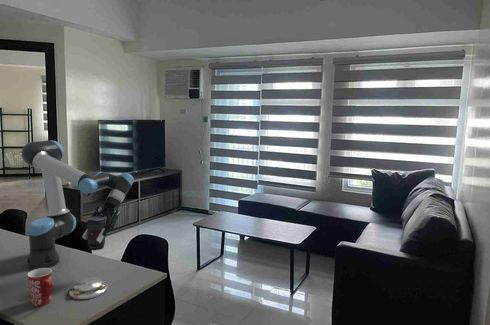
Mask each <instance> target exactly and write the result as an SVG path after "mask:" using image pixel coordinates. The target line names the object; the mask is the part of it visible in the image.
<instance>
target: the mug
mask: <svg viewBox="0 0 490 325" xmlns="http://www.w3.org/2000/svg"><path fill="white" fill-rule="evenodd" d="M52 272H53V270H52V269H51V268H50V267H48V268H40V269H32V270H31V271H29V272H28V273H27V279H28V285H29V294H30V300H31V306H33V307H43V306H46V305H48V304H50V302H51V301H52V293H53V288H54V285H53V282H52Z"/></svg>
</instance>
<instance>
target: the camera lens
mask: <svg viewBox="0 0 490 325" xmlns="http://www.w3.org/2000/svg"><path fill="white" fill-rule="evenodd" d="M105 218H106V217H101V216H94V217H91V216H90V217H88V218H87V221H86V222H87V223H86V224H87V225H86V228H87V230H88V232H87V236H88V238H87V245H88V248H89V250H91V251H99V250H103V249H104V247H105V243H106V236H104V238H103V239H102V241H101V243H99V242H98V241H97V238H98V236H99V234H100V233H101V231H102V229H103V228H104V227H105V225H106V219H105Z"/></svg>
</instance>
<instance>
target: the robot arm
mask: <svg viewBox="0 0 490 325" xmlns="http://www.w3.org/2000/svg"><path fill="white" fill-rule="evenodd" d="M64 152H65V151H64V148H63V146H62V144H60V143H59V142H58V141H55V140H51V139H50V140H41V141H31V142H28V143H26V144H24V146H23V147H22V149H21V152H20V154H21V159H22V161H24V163H26V164H27V165H29V166H30V167H31V168H34V169H39V170H41V174H42V175H41V176H42V180H43V186H44V192H45V197H46V202H47V207H48V213H47V214H46V217H41V218H37V219H34V220H33V221H31V222H30V223H29V225H28V239H29V242H28V243H29V253H28V257H27V260H26V267H27V268H28V269H30V270H36V269H40V268H51V267H54V266H56V265H58V264H59V263H60V255H59V254H58V251H57V249H56V240H58V239H60V238H62V237H64V236H68V235H69V234H70V233H72V232H74V230H75V229H76V226H77V220H76V217H75V215H73V214H72V213H71V212H70V209H68V208H67V207H66V200H65V195H64V189H63V188H64V187H63V184H62V180H64V181H65V182H68V183H69V184H72V185H74V186H76V187H78V189H79V191H80V192H81V193H82V194H84V195H85V194H86V195H88V194H93V193H95V192H98V191H101V190H104V189H111V190H110V192H109V194H108V196H107V197H106V199H105V201H104V204H103V206H102V207H99V206H97V207H96V208H95V210H94V212H93V213H92V214H91V215H90V217H94V216H101V217H104V218H106V219H105V227H104V228H103V229H102V231H101V233H100V234H99V236H98V238H97V241H98V242H99V243H101V241H102V239H103V238H104V236H105V237H106V236H107V234H108V232H109V231H113V230H114V229H115V227H116V224H117V220H118V219H119V216H120V215H121V212H120V211H119V208H120V207H121V204H122V202H123V201H124V199H125V197H126V196H127V194H128V192H129V190H130V189H131V187H132V185H133V184H134V180H135V178H134V177H133V175H132V174H130V173H128V172H122V173H121V174H120V175H115V174H113V173H112V174H111V173H109V172H106V171H98V172H97V173H95V174H94V176H92V175H90V174H88V173H86V172H84V171H81V170H80V169H77V168H75V167H73V166H71V165H69V164H68V163H65V162H63V161H62V160H61V159H62V158H63V157H64V154H65V153H64ZM86 224H87V221H86ZM87 232H88V230H87V227H86V229H85V231H84V233H83V235H82V237H81V238H83V239H84V240H86V241H88V236H87Z"/></svg>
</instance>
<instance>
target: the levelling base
mask: <svg viewBox="0 0 490 325" xmlns="http://www.w3.org/2000/svg"><path fill="white" fill-rule="evenodd" d="M107 291H108V283H107V282H106V281H104V279H102V278H101V277H97V276H96V277H93V276H92V277H85V278H81V279H79V280H78V281H76V282H75V283H74V284H73V286H71V287H70V288H69V290H68V294H69V297H70V298H71V299H74V300H76V301H77V300H79V301H87V300H90V299H91V300H92V299H95V298H98V297H101V296H102V295H104V294H105V293H106V292H107Z"/></svg>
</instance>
